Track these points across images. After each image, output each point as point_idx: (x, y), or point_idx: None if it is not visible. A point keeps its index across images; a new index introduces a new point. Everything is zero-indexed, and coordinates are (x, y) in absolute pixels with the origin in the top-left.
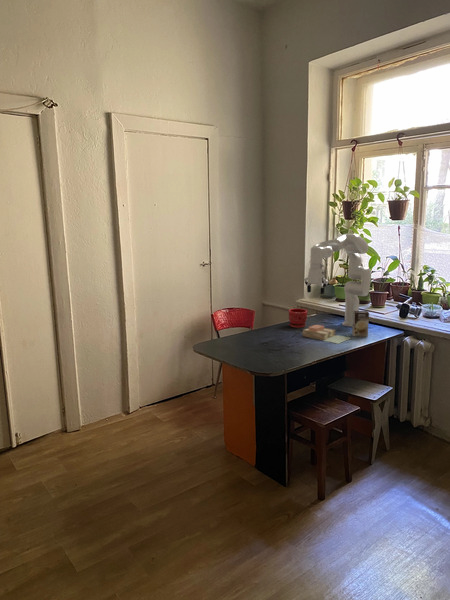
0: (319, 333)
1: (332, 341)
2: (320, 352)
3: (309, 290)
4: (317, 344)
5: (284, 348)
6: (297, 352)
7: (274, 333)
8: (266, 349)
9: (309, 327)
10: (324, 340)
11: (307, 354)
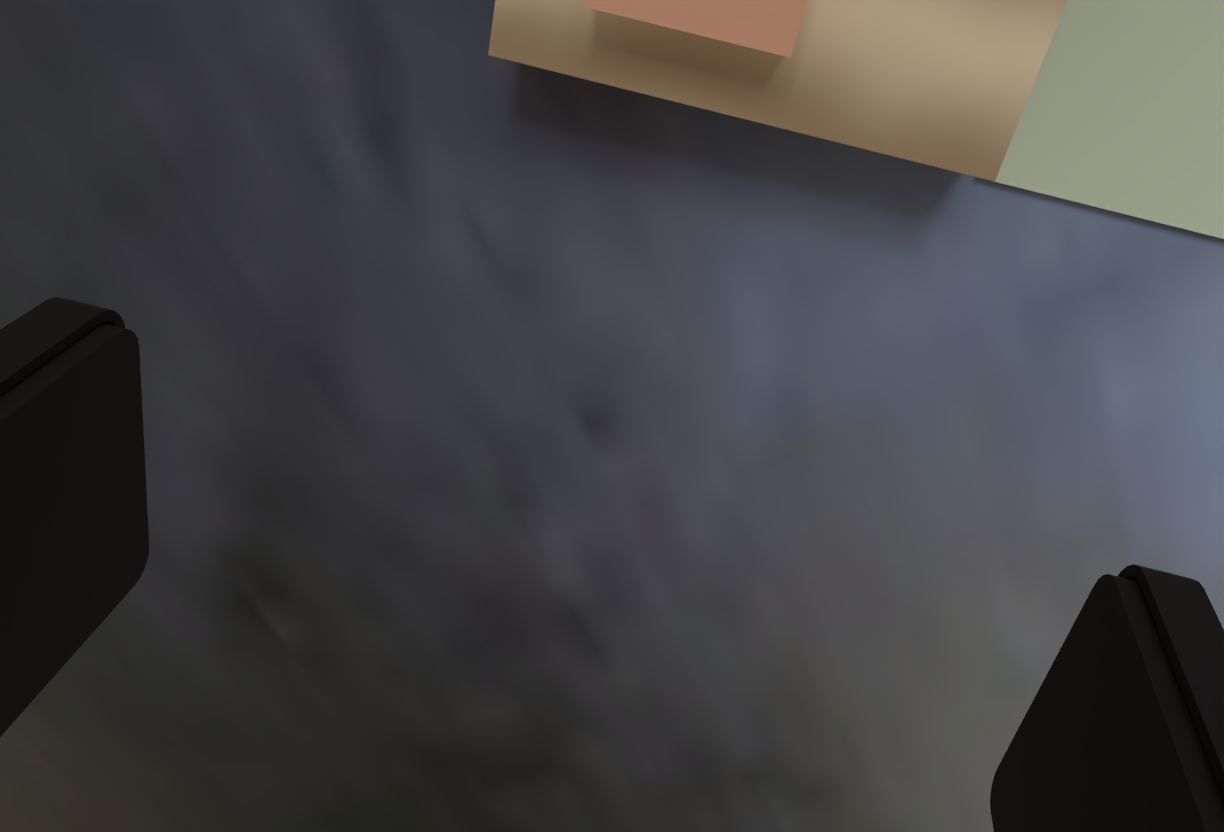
0: (890, 154)
1: (1167, 180)
2: None
3: (80, 535)
4: (928, 409)
5: (570, 694)
6: (774, 774)
7: (32, 90)
8: (413, 772)
9: (602, 9)
10: (1002, 177)
11: (910, 803)
